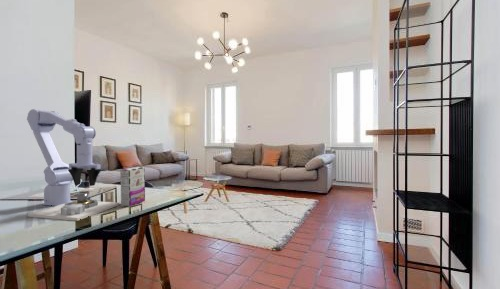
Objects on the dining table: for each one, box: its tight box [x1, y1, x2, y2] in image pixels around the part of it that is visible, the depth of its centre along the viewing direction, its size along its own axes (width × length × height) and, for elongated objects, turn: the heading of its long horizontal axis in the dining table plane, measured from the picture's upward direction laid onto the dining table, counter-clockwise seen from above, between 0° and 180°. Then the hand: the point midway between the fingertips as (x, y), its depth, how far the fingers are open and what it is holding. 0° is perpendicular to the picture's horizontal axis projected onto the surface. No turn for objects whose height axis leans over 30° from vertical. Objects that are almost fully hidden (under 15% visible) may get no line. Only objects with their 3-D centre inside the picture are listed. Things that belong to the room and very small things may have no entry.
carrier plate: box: [27, 199, 120, 222], centre depth 105 cm, size 22×22×4 cm
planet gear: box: [72, 192, 92, 205], centre depth 108 cm, size 7×7×5 cm
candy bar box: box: [119, 166, 146, 207], centre depth 116 cm, size 11×5×16 cm, turn 168°
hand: (84, 185), depth 110 cm, fingers open, 7 cm apart
